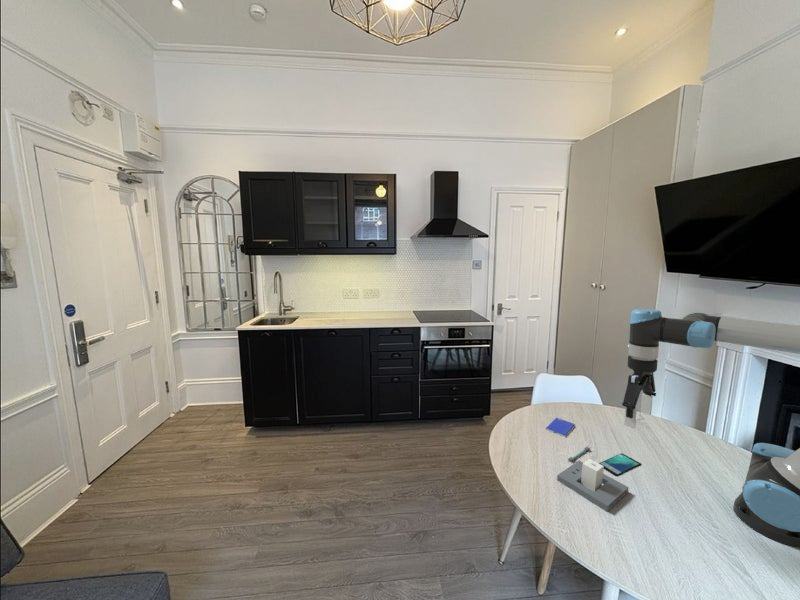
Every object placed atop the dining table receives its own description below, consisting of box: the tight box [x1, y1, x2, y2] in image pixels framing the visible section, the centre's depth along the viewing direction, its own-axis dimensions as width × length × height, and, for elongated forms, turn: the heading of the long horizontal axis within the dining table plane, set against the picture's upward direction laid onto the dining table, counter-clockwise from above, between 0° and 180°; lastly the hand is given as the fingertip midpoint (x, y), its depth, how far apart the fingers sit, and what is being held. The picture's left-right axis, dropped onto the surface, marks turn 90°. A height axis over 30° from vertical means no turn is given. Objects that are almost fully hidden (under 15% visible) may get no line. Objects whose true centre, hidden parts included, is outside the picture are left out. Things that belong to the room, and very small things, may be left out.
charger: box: [580, 458, 605, 492], centre depth 106 cm, size 4×4×8 cm
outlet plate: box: [556, 460, 629, 512], centre depth 107 cm, size 16×14×2 cm
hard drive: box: [545, 417, 576, 438], centre depth 142 cm, size 2×8×12 cm
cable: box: [567, 446, 591, 463], centre depth 123 cm, size 1×13×1 cm, turn 123°
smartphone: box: [598, 453, 641, 477], centre depth 117 cm, size 7×1×15 cm
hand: (638, 419), depth 104 cm, fingers open, 13 cm apart
